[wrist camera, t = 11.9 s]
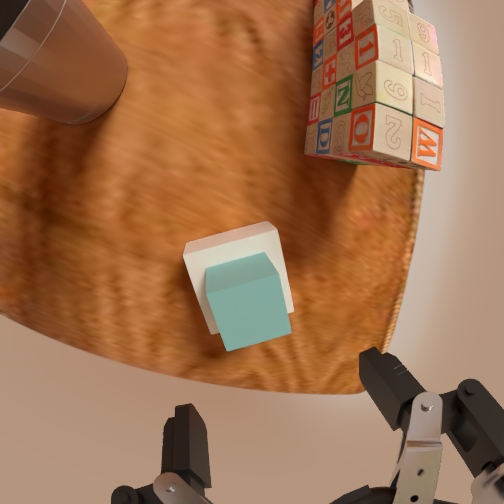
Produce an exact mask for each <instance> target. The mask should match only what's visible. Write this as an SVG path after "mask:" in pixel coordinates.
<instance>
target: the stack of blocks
mask: <svg viewBox="0 0 504 504" xmlns="http://www.w3.org/2000/svg"><path fill="white" fill-rule="evenodd" d="M313 48H314V49H313V63H312V81H311V97H310V100H309V112H308V123H307V131H306V140H305V150H304V155H307V156H313V157H319V158H325V159H330V160H338V161H343V162H348V163H353V164H357V165H376V166H389V167H396V168H407V169H413V168H416V169H425V170H433V171H440V170H441V157H442V144H443V143H442V142H443V141H442V140H443V131H442V129H443V128H444V127H445V109H444V93H443V91H442V89H443V79H442V70H441V61H440V58H439V50H438V44H437V37H436V32H435V28H434V26H433V25H431V24H429V23H428V22H426V21H424V20H423V19H421V18H419V17H417V16H416V15H414V14H412V13H410V12H409V7H408V2H407V0H315V8H314V30H313Z"/></svg>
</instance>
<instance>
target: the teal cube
mask: <svg viewBox="0 0 504 504" xmlns="http://www.w3.org/2000/svg"><path fill="white" fill-rule="evenodd" d="M206 296H207V299H208V301H209V304H210V307H211V310H212V313H213V315H214V318H215V321H216V324H217V326H218V329H219V332H220V334H221V337H222V340H223V342H224V345H225V348H226V350H227V351H231V350H235V349H239V348H242V347H246V346H249V345H253V344H257V343H260V342H264V341H267V340H270V339H274V338H277V337H280V336H283V335H287V334H290V333H292V332H291V327H290V322H289V317H288V313H287V308H286V303H285V299H284V294H283V290H282V285H281V280H280V276H279V273H278V271H277V270H276V268H275V267H274V265H273V264H272V262H271V261H270V259H269V258H268V256H267V255H266V253H265V252H261V253H258V254H254V255H251V256H247V257H244V258H240V259H237V260H233V261H229V262H226V263H222V264H219V265H215V266H212V267H208V268H206Z"/></svg>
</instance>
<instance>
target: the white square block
mask: <svg viewBox="0 0 504 504" xmlns="http://www.w3.org/2000/svg"><path fill="white" fill-rule="evenodd" d="M261 252H265V253H266V255H267V256H268V258H269V259H270V261H271V262H272V264H273V265H274V267H275V268H276V270H277V271H278V273H279V276H280V280H281V285H282V290H283V294H284V299H285V303H286V308H287V313H291V312H294V308H293V303H292V297H291V292H290V287H289V282H288V277H287V272H286V268H285V263H284V258H283V253H282V248H281V244H280V239H279V234H278V230H277V229H276V228H275V227H274V226H273V225H272V224H271V223H270V222H269V221H264V222H260V223H256V224H252V225H249V226H245V227H241V228H238V229H234V230H230V231H226V232H223V233H219V234H216V235H212V236H208V237H205V238H201V239H198V240H194V241H191V242H187V243H186V246H185V249H184V253H183V258H184V261H185V264H186V267H187V270H188V273H189V276H190V279H191V282H192V284H193V287H194V290H195V293H196V296H197V299H198V301H199V304H200V307H201V310H202V312H203V315H204V318H205V320H206V323H207V326H208V328H209V331H210V333H211V335H212V334H216V333H220V332H219V329H218V326H217V324H216V321H215V318H214V315H213V313H212V310H211V307H210V304H209V301H208V299H207V296H206V268H208V267H212V266H215V265H219V264H222V263H226V262H229V261H233V260H237V259H240V258H244V257H247V256H251V255H254V254H258V253H261Z"/></svg>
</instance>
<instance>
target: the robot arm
mask: <svg viewBox="0 0 504 504" xmlns="http://www.w3.org/2000/svg"><path fill="white" fill-rule="evenodd" d="M126 78H127V62H126V59H125V57H124V54H123V53H122V51H121V50H120V49H119V48H118V46H117V45H116V44H115V42H114V41H113V40H112V38H111V37H110V36H109V34H108V33H107V32H106V30H105V29H104V28H103V27H102V25H101V24H100V23H99V21H98V20H97V19H96V17H95V16H94V15H93V14H92V12H91V11H90V10H89V8H88V7H87V6H86V5H85V3H84V2H83V1H82V0H0V108H3V109H8V110H12V111H17V112H21V113H26V114H30V115H34V116H39V117H43V118H47V119H50V120H54V121H58V122H62V123H66V124H72V125H78V124H84V123H87V122H90V121H92V120H94V119H96V118H98V117H99V116H101V115H102V114H103V113H104V112H106V111H107V110H108V109H109V108H110V107H111V106H112V105H113V104H114V103H115V101H116V100H117V98H118V97H119V95H120V94H121V91H122V89H123V87H124V85H125V81H126ZM359 376H360V380H361V382H362V384H363V386H364V387H365V389H366V390H367V392H368V393H369V395H370V396H371V398H372V399H373V401H374V402H375V404H376V405H377V407H378V408H379V410H380V411H381V413H382V415H383V416H384V418H385V419H386V421H387V422H388V423H389V425H390V426H391V428H392V430H393V431H395V430H397V429H398V428H401V430H402V431H403V434H402V439H401V444H400V449H399V453H398V458H397V462H396V466H395V469H394V472H393V475H392V478H391V481H390V484H389V487H374V488H369V486H368V485H366V486H364V487H361V488H359V489H357V490H354V491H352V492H350V493H347V494H344V495H343V496H341V497H340V498H338V499H337V500H335V501H333V502H332V503H330V504H457V503H451V502H446V501H442V500H437V499H434V495H435V491H436V486H437V481H438V475H439V470H440V463H441V456H442V443H441V442H440V435H441V434H444V433H446V434H447V435H448V437H449V438H450V440H451V441H452V443H453V444H454V446H455V447H456V449H457V451H458V452H459V454H460V455H461V457H462V459H463V460H464V461H465V463H466V465H467V467H468V468H469V470H470V471H471V473H472V475H473V476H474V478H475V479H474V480H473V482H472V485H471V493H472V496H473V500H472V504H504V410H503V409H502V407H501V406H500V405H499V404H498V402H497V401H496V400H495V399H494V398H493V397H492V396H491V394H490V393H489V392H488V391H487V390H486V389H485V387H484V386H483V385H482V384H481V383H480V382H479V381H477V380H475V379H466V380H464V381H462V382H461V383H460V384H459V386H458V388H457V390H454V391H451V392H447V393H444V394H439V395H438V394H436V393H433V392H427V391H426V390H425V389H424V388H423V387H422V386H421V385H420V384H419V382H418V381H417V380H416V379H415V378H414V377H413V375H412V374H411V373H410V372H409V371H407V368H405V366H404V365H402V363H401V362H400V361H399V359H398V358H397V357H396V356H394V355H392V354H389V353H388V352H386V353H384V354H381V353H380V352H379V351H378V349H377V348H376V347H372V348H370V349H368V350H365V351H363V352H361V353H360V354H359ZM163 436H164V438H163V447H162V467H161V474H160V475H159V476H158V477H157V478H156V479H155V480H154V483H152V484H150V485H147V486H144V487H141V488H137V489H133V488H132V487H129V486H125V485H124V486H120V487H118V488H116V489H115V490H114V491H113V493H112V496H111V504H213V503H212V502H211V501H210V500H209V499H208V498H207V497H205V492H204V488H211V477H210V466H209V454H208V441H207V430H206V426H205V423H204V421H203V419H202V418H201V416H200V415H199V413H198V412H197V410H196V409H195V407H194V406H193V405H192V404H191V403H190V404H185V405H179V406H176V407H175V417H172V418H168V420H167V422H166V424H165V426H164V432H163Z"/></svg>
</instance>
